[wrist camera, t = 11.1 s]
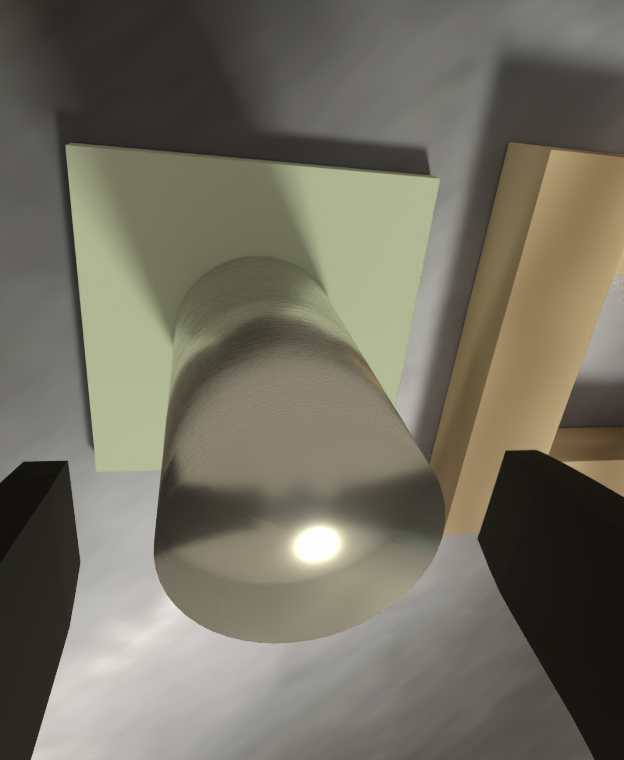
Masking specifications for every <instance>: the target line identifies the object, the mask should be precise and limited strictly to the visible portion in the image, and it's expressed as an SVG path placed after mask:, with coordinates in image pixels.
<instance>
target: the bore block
mask: <svg viewBox="0 0 624 760" xmlns="http://www.w3.org/2000/svg"><path fill="white" fill-rule="evenodd" d="M614 275H619V276H624V154H615V153H605V152H596V151H587V150H578V149H568V148H559V147H550V146H540V145H531V144H522V143H513V142H509V144H508V148H507V152H506V156H505V160H504V164H503V168H502V172H501V176H500V180H499V184H498V188H497V192H496V196H495V200H494V204H493V209H492V213H491V217H490V221H489V225H488V229H487V233H486V237H485V241H484V245H483V249H482V253H481V257H480V261H479V265H478V269H477V273H476V278H475V282H474V286H473V290H472V294H471V298H470V302H469V306H468V310H467V314H466V318H465V322H464V326H463V330H462V334H461V338H460V343H459V347H458V351H457V355H456V359H455V363H454V367H453V371H452V375H451V379H450V383H449V387H448V391H447V395H446V399H445V403H444V407H443V412H442V416H441V420H440V424H439V428H438V432H437V436H436V440H435V444H434V448H433V452H432V456H431V460H430V464H429V465H430V467H431V468H432V470H433V472H434V474H435V476H436V478H437V479H438V481H439V484H440V487H441V490H442V493H443V496H444V504H445V525H444V530H443V535H459V534H476V533H480V529H481V526H482V523H483V520H484V517H485V514H486V511H487V507H488V504H489V501H490V498H491V495H492V492H493V489H494V485H495V482H496V479H497V476H498V473H499V470H500V467H501V463H502V460H503V457H504V454H505V451H506V450H538V451H540V452H543V453H545V454H547V455H549V456H551V457H553V458H555V459H557V460H559V461H561V462H563V463H565V464H566V465H568V466H570V467H572V468H574V469H576V470H577V471H579V472H581V473H583V474H585V475H586V476H588V477H590V478H592V479H593V480H595V481H597V482H599V483H600V484H602V485H604V486H606V487H607V488H609V489H611V490H613V491H614V492H616V493H618V494H619V495H621V496H623V497H624V427H587V428H558V427H559V424H560V421H561V419H562V416H563V413H564V410H565V408H566V405H567V402H568V399H569V397H570V394H571V391H572V388H573V386H574V383H575V380H576V377H577V375H578V372H579V369H580V366H581V364H582V361H583V358H584V355H585V353H586V350H587V347H588V344H589V342H590V339H591V336H592V333H593V331H594V328H595V325H596V322H597V320H598V317H599V314H600V311H601V309H602V306H603V303H604V300H605V298H606V295H607V292H608V289H609V287H610V284H611V281H612V278H613V276H614Z"/></svg>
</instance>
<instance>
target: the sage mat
mask: <svg viewBox="0 0 624 760" xmlns="http://www.w3.org/2000/svg"><path fill="white" fill-rule="evenodd" d="M65 146H66V157H67V167H68V178H69V188H70V199H71V209H72V220H73V231H74V241H75V252H76V262H77V273H78V283H79V294H80V304H81V315H82V325H83V336H84V346H85V357H86V367H87V378H88V388H89V399H90V410H91V420H92V431H93V441H94V452H95V462H96V472H110V471H144V470H161V468H162V458H163V447H164V437H165V427H166V417H167V407H168V396H169V386H170V376H171V366H172V356H173V345H174V335H175V325H176V319H177V314H178V311H179V308H180V305H181V303H182V301H183V299H184V297H185V295H186V294H187V292H188V291H189V289H190V288H191V287H192V285H193V284H194V283H195V282H196V281H197V280H198V279H199V278H200V277H201V276H203V275H204V274H205V273H207V272H208V271H209V270H211V269H213V268H214V267H216V266H218V265H220V264H222V263H225V262H227V261H230V260H233V259H237V258H242V257H249V256H265V257H273V258H277V259H281V260H284V261H287V262H289V263H292V264H294V265H296V266H297V267H299V268H301V269H303V270H304V271H305V272H307V273H308V274H309V275H310V276H312V277H313V279H314V280H315V281H316V282H317V283H318V284H319V285H320V286H321V288H322V289H323V291H324V292H325V294H326V295H327V297H328V299H329V300H330V302H331V304H332V305H333V307H334V309H335V310H336V312H337V314H338V315H339V317H340V318H341V320H342V322H343V323H344V325H345V327H346V328H347V330H348V332H349V333H350V335H351V337H352V338H353V340H354V342H355V343H356V345H357V346H358V348H359V350H360V351H361V353H362V355H363V356H364V358H365V360H366V361H367V363H368V365H369V366H370V368H371V370H372V371H373V373H374V374H375V376H376V378H377V379H378V381H379V383H380V384H381V386H382V388H383V389H384V391H385V393H386V394H387V396H388V398H389V399H390V401H391V402H392V404H393V406H394V407H395V403H396V398H397V393H398V388H399V383H400V378H401V373H402V368H403V363H404V358H405V353H406V348H407V343H408V338H409V333H410V328H411V323H412V318H413V313H414V308H415V303H416V298H417V293H418V288H419V283H420V278H421V273H422V268H423V263H424V258H425V253H426V248H427V243H428V237H429V232H430V227H431V222H432V217H433V212H434V207H435V202H436V197H437V192H438V187H439V182H440V178H437V177H435V176H432V175H422V174H411V173H400V172H389V171H378V170H367V169H356V168H345V167H334V166H323V165H312V164H301V163H290V162H278V161H267V160H256V159H245V158H234V157H223V156H212V155H201V154H190V153H179V152H168V151H157V150H146V149H135V148H124V147H113V146H102V145H91V144H80V143H69V144H67V145H65Z"/></svg>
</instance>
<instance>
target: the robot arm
mask: <svg viewBox="0 0 624 760" xmlns="http://www.w3.org/2000/svg"><path fill="white" fill-rule="evenodd" d="M478 541H479V543H480V546H481V548H482V551H483V554H484V556H485V559H486V561H487V564H488V566H489V569H490V571H491V573H492V575H493V578H494V580H495V582H496V585H497V587H498V589H499V591H500V593H501V595H502V597H503V599H504V600H505V602H506V604H507V606H508V608H509V609H510V611H511V613H512V615H513V616H514V618H515V620H516V622H517V623H518V625H519V627H520V629H521V630H522V632H523V634H524V636H525V637H526V639H527V641H528V642H529V644H530V646H531V648H532V649H533V651H534V653H535V654H536V656H537V658H538V659H539V661H540V663H541V665H542V666H543V668H544V670H545V671H546V673H547V675H548V677H549V678H550V680H551V682H552V683H553V685H554V687H555V689H556V690H557V692H558V694H559V695H560V697H561V699H562V701H563V702H564V704H565V706H566V707H567V709H568V711H569V712H570V714H571V716H572V718H573V719H574V721H575V723H576V725H577V727H578V729H579V731H580V733H581V734H582V736H583V738H584V740H585V742H586V744H587V746H588V747H589V749H590V751H591V753H592V756H593V758H594V760H624V497H623V496H621V495H619V494H618V493H616V492H614V491H613V490H611V489H609V488H607V487H606V486H604V485H602V484H600V483H599V482H597V481H595V480H593V479H592V478H590V477H588V476H586V475H585V474H583V473H581V472H579V471H577V470H576V469H574V468H572V467H570V466H568V465H566V464H565V463H563V462H561V461H559V460H557V459H555V458H553V457H551V456H549V455H547V454H545V453H543V452H540V451H538V450H506V451H505V454H504V457H503V460H502V463H501V467H500V470H499V473H498V476H497V479H496V482H495V485H494V489H493V492H492V495H491V498H490V501H489V504H488V507H487V511H486V514H485V517H484V520H483V523H482V526H481V529H480V533H479V536H478ZM79 568H80V556H79V547H78V539H77V531H76V523H75V515H74V507H73V498H72V490H71V482H70V474H69V466H68V461H35V462H23V463H22V464H21V465H19V466H18V467H17V468H16V469H15V470H14V471H13V472H12V473H11V474H9V475H8V476H7V477H6V478H5V479H4V480H3V481H2V482H1V483H0V760H31V757H32V754H33V751H34V747H35V744H36V740H37V737H38V734H39V730H40V727H41V723H42V720H43V717H44V713H45V710H46V706H47V703H48V700H49V696H50V693H51V689H52V686H53V683H54V679H55V676H56V672H57V669H58V665H59V662H60V658H61V655H62V652H63V648H64V645H65V641H66V637H67V634H68V630H69V627H70V621H71V615H72V610H73V604H74V598H75V592H76V586H77V580H78V574H79Z"/></svg>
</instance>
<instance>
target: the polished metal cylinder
mask: <svg viewBox="0 0 624 760" xmlns="http://www.w3.org/2000/svg"><path fill="white" fill-rule="evenodd" d="M444 525H445V504H444V496H443V493H442V490H441V487H440V484H439V481H438V479H437V478H436V476H435V474H434V472H433V470H432V468H431V467H430V465H429V463H428V462H427V460H426V458H425V457H424V455H423V454H422V452H421V450H420V449H419V447H418V445H417V444H416V442H415V440H414V439H413V437H412V435H411V434H410V432H409V430H408V429H407V427H406V426H405V424H404V422H403V421H402V419H401V417H400V416H399V414H398V412H397V411H396V409H395V407H394V406H393V404H392V402H391V401H390V399H389V398H388V396H387V394H386V393H385V391H384V389H383V388H382V386H381V384H380V383H379V381H378V379H377V378H376V376H375V374H374V373H373V371H372V370H371V368H370V366H369V365H368V363H367V361H366V360H365V358H364V356H363V355H362V353H361V351H360V350H359V348H358V346H357V345H356V343H355V342H354V340H353V338H352V337H351V335H350V333H349V332H348V330H347V328H346V327H345V325H344V323H343V322H342V320H341V318H340V317H339V315H338V314H337V312H336V310H335V309H334V307H333V305H332V304H331V302H330V300H329V299H328V297H327V295H326V294H325V292H324V291H323V289H322V288H321V286H320V285H319V284H318V283H317V282H316V281H315V280H314V279H313V277H312V276H310V275H309V274H308V273H307V272H305V271H304V270H303V269H301V268H299V267H297V266H296V265H294V264H292V263H289V262H287V261H284V260H281V259H277V258H273V257H265V256H249V257H242V258H237V259H233V260H230V261H227V262H225V263H222V264H220V265H218V266H216V267H214V268H213V269H211V270H209V271H208V272H207V273H205V274H204V275H203V276H201V277H200V278H199V279H198V280H197V281H196V282H195V283H194V284H193V285H192V287H191V288H190V289H189V291H188V292H187V294H186V295H185V297H184V299H183V301H182V303H181V305H180V308H179V311H178V314H177V319H176V325H175V335H174V345H173V356H172V366H171V376H170V386H169V396H168V407H167V417H166V427H165V437H164V447H163V458H162V468H161V478H160V488H159V498H158V509H157V519H156V529H155V540H154V559H155V567H156V571H157V574H158V577H159V580H160V583H161V584H162V586H163V588H164V590H165V592H166V594H167V595H168V597H169V598H170V599H171V600H172V602H173V603H174V604H175V605H176V606H177V607H178V608H179V609H180V610H181V611H182V612H183V613H184V614H185V615H186V616H188V617H189V618H191V619H192V620H194V621H195V622H196V623H198V624H199V625H201V626H203V627H205V628H207V629H209V630H211V631H213V632H216V633H219V634H222V635H225V636H227V637H231V638H235V639H240V640H244V641H251V642H259V643H293V642H300V641H308V640H313V639H317V638H322V637H326V636H330V635H333V634H336V633H339V632H342V631H345V630H347V629H350V628H352V627H355V626H357V625H359V624H361V623H363V622H365V621H367V620H369V619H371V618H373V617H375V616H376V615H378V614H379V613H381V612H383V611H384V610H386V609H387V608H389V607H390V606H391V605H393V604H394V603H395V602H397V601H398V600H399V599H400V598H401V597H403V596H404V595H405V594H406V593H407V592H408V591H409V590H410V589H411V588H412V587H413V586H414V585H415V584H416V582H417V581H418V580H419V579H420V578H421V577H422V575H423V574H424V572H425V571H426V570H427V568H428V567H429V565H430V564H431V562H432V560H433V558H434V556H435V554H436V552H437V550H438V547H439V544H440V542H441V539H442V535H443V530H444Z"/></svg>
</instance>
